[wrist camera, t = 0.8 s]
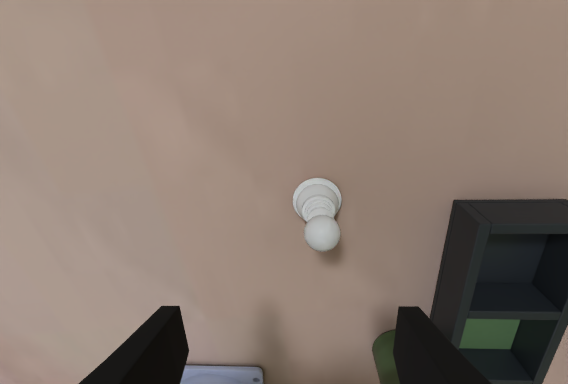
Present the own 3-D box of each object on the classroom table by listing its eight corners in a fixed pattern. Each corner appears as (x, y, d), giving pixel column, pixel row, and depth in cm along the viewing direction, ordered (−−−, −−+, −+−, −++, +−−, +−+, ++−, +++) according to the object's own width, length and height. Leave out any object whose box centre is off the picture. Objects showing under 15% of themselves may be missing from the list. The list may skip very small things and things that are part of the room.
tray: (565, 199, 18) (612, 223, 15) (512, 348, 22) (541, 388, 20) (453, 199, 18) (479, 223, 15) (423, 347, 23) (440, 385, 20)
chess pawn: (285, 210, 19) (280, 258, 14) (304, 169, 18) (306, 207, 13) (327, 226, 19) (336, 279, 15) (349, 187, 18) (366, 231, 14)
